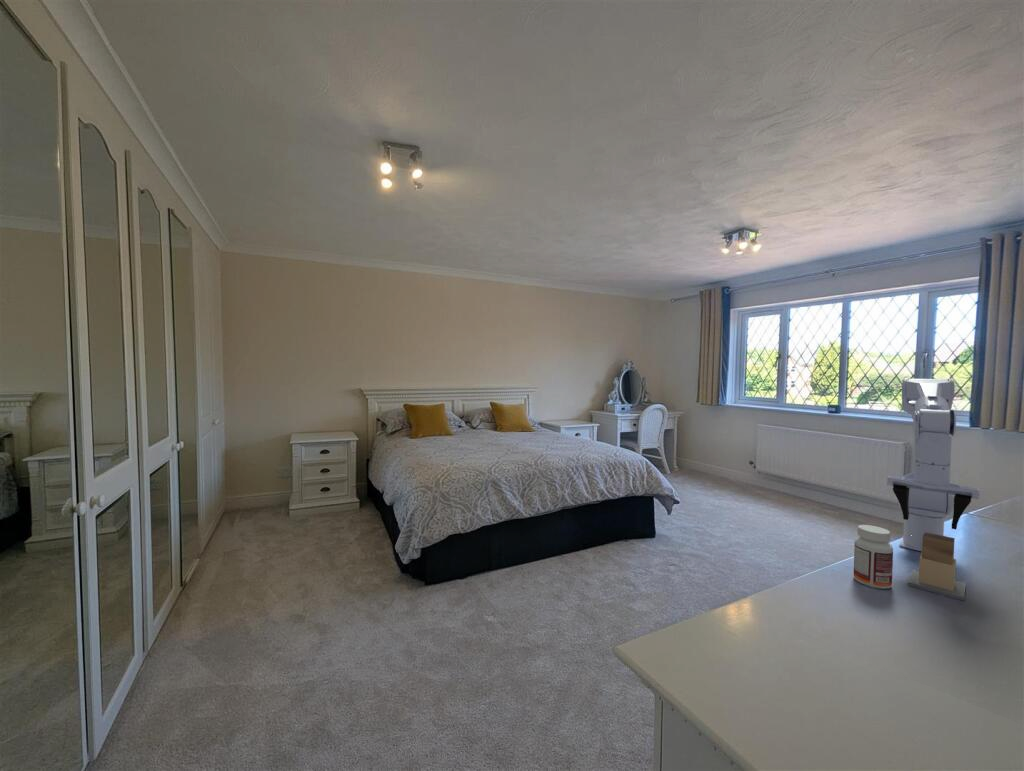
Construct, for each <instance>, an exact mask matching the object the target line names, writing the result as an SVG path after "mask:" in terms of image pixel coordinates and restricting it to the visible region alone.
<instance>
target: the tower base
mask: <svg viewBox="0 0 1024 771" xmlns="http://www.w3.org/2000/svg"><path fill="white" fill-rule="evenodd" d="M956 562H957V560H956V558H954V560H953V565H948V564H944V563H940V562H936V561H932V560H928V559H924V558H922V552H921V554H920V557H919V562H918V563H919V566H918V570H917V569H914V568H912V570H911V572H910V575H909V578H908V580H907V584H906V585H907V586H910V587H913V588H917V589H921V590H925V591H928V592H932V593H933V594H938V595H943V596H946V597H948V598H949V597H950V598H952V599H957V600H959V601H965V594H966V588H967V586H966V582H963V581H959V580H956V564H957V563H956Z"/></svg>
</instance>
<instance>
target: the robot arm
mask: <svg viewBox="0 0 1024 771" xmlns="http://www.w3.org/2000/svg"><path fill="white" fill-rule="evenodd" d="M901 381H902V382H901V407H902V411H903V412H906V413H907V414H909V415H910V416H911V418H912V421H913V423H912V424H913V425H912V428H913V434H914V436H913V445H914V446H913V472H910V473H907V474H906V475H903V476H895V475H894V476H892V475H888V476H887V477H886V478H887V480H886V481H887V482H886V484H887V486H891V487H892V486H893V487H892V491H893V494H894V495H895V497H896V499H897V505H898V506H899V507H900V510H901V512H902V517H903V537H902V539H903V540H902V539H901V541H900V542H899V544H898V546H899V547H901V548H906V549H910V550H914V551H918V552H922V540H923V535H924V533H925V532H927V533H932V534H937V535H942V536H944V534H945V533H944V532H945V530H944V529H945V519H946V516H951V515H952V514H953V516H952V522H951V529H952V530H957V528H958V523H959V520H960V519H961V516H962V514H963V513H964V512H965V510H966V509H967V507H968V506H969V505H970V503H971V502H972V499H973V500H974V499H976V500H980V488H976V487H972V486H971V487H970V486H964V485H959V484H955V483H950V481H951V479H950V478H951V461H952V460H951V459H952V437H954V435H955V432H956V428H957V416H956V412H955V410H954V409H952V407H953V401H954V398H955V391H956V390H955V381H954V379H952V378H907V377H905V378H903V379H902V380H901ZM911 535H912V536H911Z"/></svg>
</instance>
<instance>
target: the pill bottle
mask: <svg viewBox="0 0 1024 771" xmlns="http://www.w3.org/2000/svg"><path fill="white" fill-rule="evenodd" d="M857 535H858V536H859V537H856V538H855V540H854V543H853V544H854V550H853V551H854V552H853V553H854V554H853V579H854V580H855V581H857V582H858V583H860V584H863V585H864V586H867V587H871V588H873V589H882V590H888V589H890V588H891V587H892V585H893V562H894V561H893V560H894V547H893V545H892V544H891V543H890V541H891V532H890V530H888V529H886V528H883V527H880V526H875V525H869V524H859V525H858V526H857Z"/></svg>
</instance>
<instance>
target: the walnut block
mask: <svg viewBox="0 0 1024 771" xmlns="http://www.w3.org/2000/svg"><path fill="white" fill-rule="evenodd" d="M921 553H922V558H924V559H928V560H932V561H936V562H940V563H944V564H948V565H953V560H954V559H955V558H954V556H955V537H951V536H946V535H943V536H942V535H937V534H932V533H927V532H925V533H924V535H923V540H922V551H921Z"/></svg>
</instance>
